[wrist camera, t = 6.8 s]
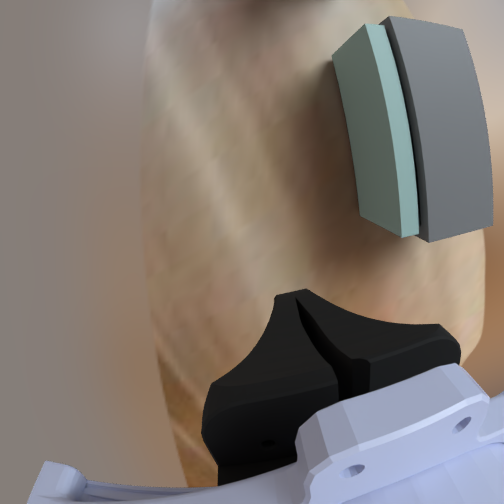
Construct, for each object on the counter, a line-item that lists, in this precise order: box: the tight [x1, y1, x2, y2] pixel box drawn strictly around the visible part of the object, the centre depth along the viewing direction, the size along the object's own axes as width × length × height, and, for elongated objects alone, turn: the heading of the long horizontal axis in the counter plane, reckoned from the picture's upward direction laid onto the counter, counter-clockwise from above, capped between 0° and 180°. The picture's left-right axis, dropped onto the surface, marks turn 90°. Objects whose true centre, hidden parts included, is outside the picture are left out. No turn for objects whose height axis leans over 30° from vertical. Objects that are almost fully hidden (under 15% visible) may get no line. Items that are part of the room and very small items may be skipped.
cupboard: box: [379, 16, 493, 243], centre depth 16 cm, size 13×6×7 cm, turn 11°
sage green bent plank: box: [332, 24, 419, 238], centre depth 16 cm, size 12×1×6 cm, turn 11°
